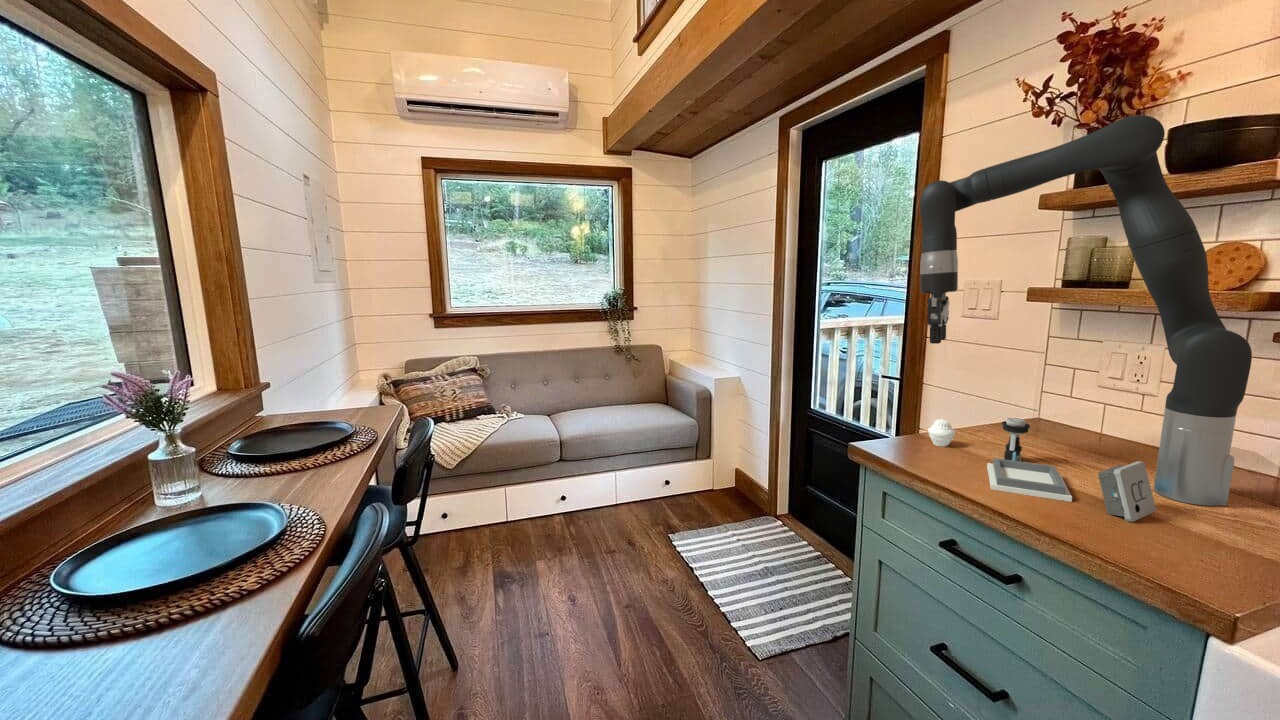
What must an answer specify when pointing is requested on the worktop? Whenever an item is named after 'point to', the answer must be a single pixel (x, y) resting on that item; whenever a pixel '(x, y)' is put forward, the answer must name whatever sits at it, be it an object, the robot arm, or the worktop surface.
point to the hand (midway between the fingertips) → (938, 341)
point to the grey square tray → (1027, 479)
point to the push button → (1014, 437)
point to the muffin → (941, 433)
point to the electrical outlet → (1127, 491)
